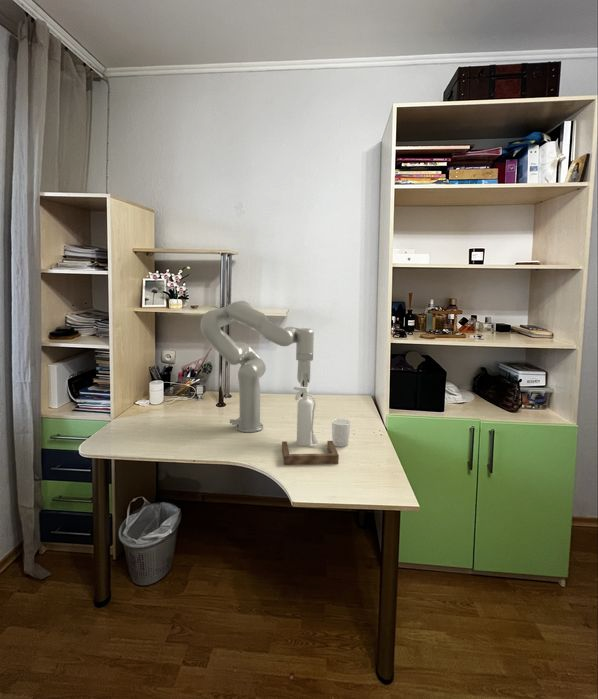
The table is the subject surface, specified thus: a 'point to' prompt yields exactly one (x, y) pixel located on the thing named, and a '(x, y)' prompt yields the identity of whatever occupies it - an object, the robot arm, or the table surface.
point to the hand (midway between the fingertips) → (303, 396)
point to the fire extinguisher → (305, 417)
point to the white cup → (340, 432)
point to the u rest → (310, 456)
